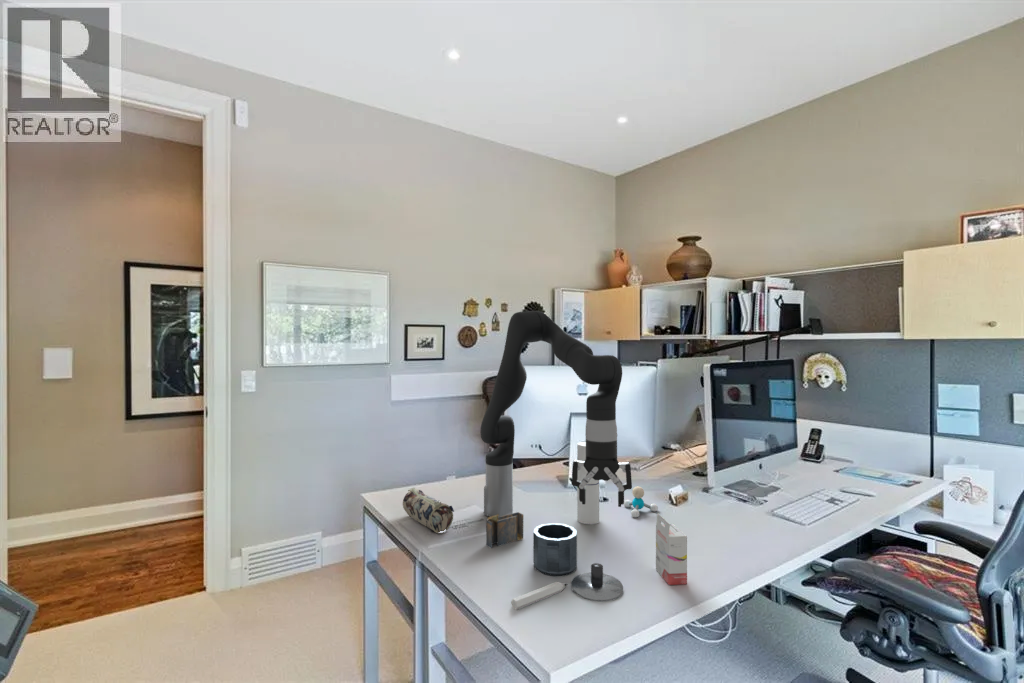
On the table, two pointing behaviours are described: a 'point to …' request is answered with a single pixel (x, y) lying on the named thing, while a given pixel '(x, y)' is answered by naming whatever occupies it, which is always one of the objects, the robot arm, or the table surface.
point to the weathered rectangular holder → (504, 529)
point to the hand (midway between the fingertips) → (601, 504)
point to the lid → (597, 585)
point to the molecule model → (638, 502)
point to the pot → (555, 549)
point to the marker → (537, 595)
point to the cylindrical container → (587, 492)
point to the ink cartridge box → (671, 552)
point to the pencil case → (428, 510)
